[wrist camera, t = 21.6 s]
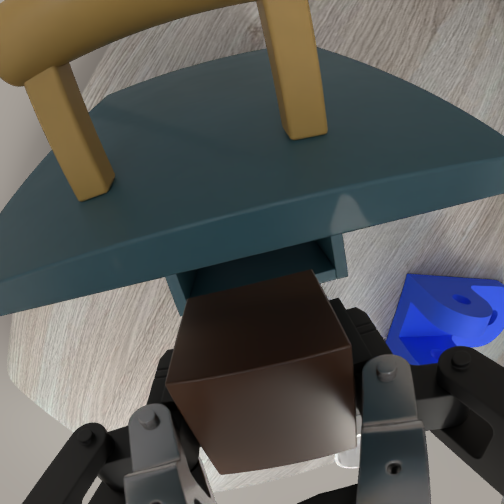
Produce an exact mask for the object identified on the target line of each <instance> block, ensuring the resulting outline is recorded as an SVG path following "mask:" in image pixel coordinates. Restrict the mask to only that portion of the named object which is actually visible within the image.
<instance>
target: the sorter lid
mask: <svg viewBox="0 0 504 504" xmlns="http://www.w3.org/2000/svg"><path fill="white" fill-rule="evenodd" d="M253 1H256V3H257V7H258V11H259V16H260V20H261V24H262V29H263V33H264V38H265V42H266V47H267V49H261V50H256V51H251V52H246V53H242V54H237V55H233V56H228V57H224V58H220V59H216V60H212V61H208V62H204V63H201V64H197V65H193V66H190V67H186V68H183V69H180V70H176V71H173V72H170V73H167V74H164V75H161V76H158V77H155V78H152V79H149V80H146V81H143V82H141V83H138V84H135V85H132V86H130V87H127V88H125V89H122V90H120V91H117V92H115V93H112V94H110V95H107V96H106V97H105V98H104V99H103V100H102V101H101V102H100V103H98V104H97V105H96V106H95V107H94V108H93V109H92V110H91V111H90V112H89V113H88V111H87V108H86V106H85V103H84V101H83V98H82V96H81V93H80V91H79V88H78V85H77V83H76V80H75V77H74V75H73V72H72V69H71V66H70V64H69V62H71V61H73V60H75V59H77V58H79V57H81V56H83V55H85V54H87V53H90V52H92V51H94V50H96V49H98V48H100V47H103V46H105V45H107V44H110V43H112V42H114V41H117V40H119V39H122V38H124V37H127V36H129V35H132V34H135V33H137V32H140V31H143V30H146V29H149V28H151V27H154V26H157V25H160V24H163V23H167V22H170V21H173V20H176V19H180V18H183V17H187V16H190V15H194V14H198V13H202V12H205V11H210V10H214V9H218V8H223V7H227V6H232V5H237V4H242V3H248V2H253ZM0 78H1V79H2V80H4V81H5V82H7V83H8V84H10V85H13V86H18V87H19V86H25V89H26V91H27V94H28V96H29V99H30V101H31V104H32V106H33V108H34V111H35V113H36V115H37V118H38V120H39V122H40V124H41V127H42V129H43V131H44V133H45V135H46V138H47V140H48V142H49V144H50V146H51V148H52V150H51V151H50V152H49V154H48V155H47V156H46V157H45V158H44V159H43V160H42V161H41V163H40V164H39V165H38V166H37V167H36V168H35V170H34V171H33V172H32V173H31V174H30V175H29V177H28V178H27V179H26V180H25V182H24V183H23V184H22V185H21V186H20V188H19V189H18V190H17V192H16V193H15V194H14V196H13V197H12V198H11V199H10V201H9V202H8V203H7V205H6V206H5V207H4V209H3V210H2V211H1V213H0V316H2V315H7V314H12V313H16V312H20V311H24V310H28V309H33V308H37V307H41V306H45V305H49V304H54V303H58V302H62V301H66V300H70V299H75V298H79V297H83V296H87V295H91V294H96V293H100V292H104V291H108V290H112V289H116V288H121V287H125V286H129V285H133V284H137V283H141V282H146V281H150V280H154V279H158V278H162V277H166V276H170V275H175V274H179V273H183V272H187V271H191V270H195V269H199V268H203V267H208V266H212V265H216V264H220V263H224V262H228V261H232V260H236V259H240V258H245V257H249V256H253V255H257V254H261V253H265V252H269V251H273V250H277V249H281V248H285V247H290V246H294V245H298V244H302V243H306V242H310V241H314V240H318V239H322V238H326V237H330V236H334V235H338V234H342V233H347V232H351V231H355V230H359V229H363V228H367V227H371V226H375V225H379V224H383V223H387V222H391V221H395V220H399V219H403V218H407V217H411V216H415V215H419V214H423V213H427V212H431V211H435V210H439V209H443V208H447V207H451V206H455V205H459V204H463V203H467V202H471V201H475V200H479V199H483V198H487V197H491V196H495V195H499V194H503V193H504V136H503V135H501V134H500V133H498V132H497V131H495V130H494V129H492V128H491V127H489V126H488V125H486V124H485V123H483V122H481V121H480V120H478V119H477V118H475V117H473V116H472V115H470V114H468V113H467V112H465V111H463V110H461V109H460V108H458V107H456V106H454V105H453V104H451V103H449V102H447V101H445V100H443V99H442V98H440V97H438V96H436V95H434V94H432V93H430V92H428V91H426V90H424V89H422V88H420V87H418V86H416V85H414V84H412V83H409V82H407V81H405V80H403V79H401V78H398V77H396V76H394V75H392V74H389V73H387V72H385V71H382V70H380V69H377V68H375V67H372V66H370V65H367V64H365V63H362V62H359V61H357V60H354V59H351V58H348V57H346V56H343V55H340V54H337V53H334V52H331V51H328V50H325V49H321V48H318V47H316V41H315V35H314V30H313V24H312V19H311V14H310V8H309V3H308V0H4V1H3V2H2V3H0Z"/></svg>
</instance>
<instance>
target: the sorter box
mask: <svg viewBox="0 0 504 504" xmlns="http://www.w3.org/2000/svg"><path fill="white" fill-rule="evenodd" d="M309 269H312V270H313V272H314V274H315V276H316V278H317V279H318V281H319V283H324V282H327V281H331V280H335V279H336V278H337V279H340V278H343V277H347V276H348V272H347V264H346V257H345V249H344V243H343V236H342V234H338V235H334V236H330V237H326V238H322V239H318V240H314V241H310V242H306V243H302V244H298V245H294V246H290V247H285V248H281V249H277V250H273V251H269V252H265V253H261V254H257V255H253V256H249V257H245V258H240V259H236V260H232V261H228V262H224V263H220V264H216V265H212V266H208V267H203V268H199V269H195V270H191V271H187V272H183V273H179V274H175V275H170V276H166V277H165V278H166V281H167V283H168V286H169V289H170V291H171V294H172V297H173V299H174V302H175V304H176V307H177V309H178V312H179V315H180V316H183V313H184V309H185V305H186V302H187V299H188V298H192V297H196V296H201V295H205V294H209V293H214V292H218V291H223V290H227V289H231V288H235V287H240V286H244V285H248V284H252V283H257V282H261V281H265V280H269V279H273V278H277V277H281V276H285V275H289V274H293V273H297V272H301V271H305V270H309Z"/></svg>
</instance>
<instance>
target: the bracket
mask: <svg viewBox="0 0 504 504" xmlns="http://www.w3.org/2000/svg"><path fill="white" fill-rule="evenodd" d="M503 329H504V285H503V284H502V283H500V282H499V281H497V280H491V279H476V278H462V277H448V276H434V275H420V274H407V277H406V280H405V284H404V287H403V290H402V294H401V297H400V300H399V303H398V306H397V310H396V313H395V316H394V319H393V322H392V325H391V328H390V330H389V333H388V336H387V339H386V344H387V345H388V347H389V349H390V350H391V352H392V353H393V355H397V356H400V357H402V358H404V359H405V360H407V362H408V363H409V364H410V365H425V364H433V363H438V359H439V357H440V355H441V354H442V353H443V352H444V351H445V350H447V349H449V348H451V347H455V346H466V347H479V346H483V345H486V344H488V343H490V342H491V341H492V340H494V339H495V338H496V337H497V336H498V335H499V334H500V333H501V332H502V330H503Z"/></svg>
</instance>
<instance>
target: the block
mask: <svg viewBox="0 0 504 504" xmlns="http://www.w3.org/2000/svg"><path fill="white" fill-rule="evenodd" d="M165 386H166V388H167V390H168V391H169V393H170V395H171V397H172V399H173V400H174V402H175V404H176V406H177V407H178V409H179V411H180V413H181V414H182V416H183V418H184V419H185V421H186V423H187V424H188V426H189V428H190V429H191V431H192V432H193V434H194V436H195V437H196V439H197V441H198V442H199V444H200V445H201V447H202V448H203V450H204V451H205V453H206V455H207V456H208V458H209V459H210V461H211V462H212V464H213V465H214V467H215V468H216V469H217V471H218V472H219V474H221V475H224V474H233V473H241V472H248V471H255V470H262V469H268V468H274V467H279V466H285V465H290V464H295V463H299V462H304V461H308V460H313V459H317V458H321V457H325V456H329V455H333V454H337V453H340V452H344V451H347V450H351V449H354V448H356V447H357V425H356V401H355V384H354V369H353V356H352V345H351V343H350V341H349V339H348V337H347V335H346V333H345V331H344V329H343V327H342V325H341V323H340V321H339V319H338V318H337V316H336V314H335V312H334V310H333V308H332V306H331V304H330V302H329V300H328V298H327V296H326V295H325V293H324V291H323V289H322V287H321V285H320V283H319V281H318V279H317V278H316V276H315V274H314V272H313V270H312V269H309V270H305V271H301V272H297V273H293V274H289V275H285V276H281V277H277V278H273V279H269V280H265V281H261V282H257V283H252V284H248V285H244V286H240V287H235V288H231V289H227V290H223V291H218V292H214V293H209V294H205V295H201V296H196V297H192V298H188V299H187V302H186V305H185V309H184V313H183V316H182V320H181V324H180V327H179V331H178V335H177V338H176V342H175V346H174V350H173V353H172V357H171V361H170V365H169V369H168V373H167V377H166V381H165Z"/></svg>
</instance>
